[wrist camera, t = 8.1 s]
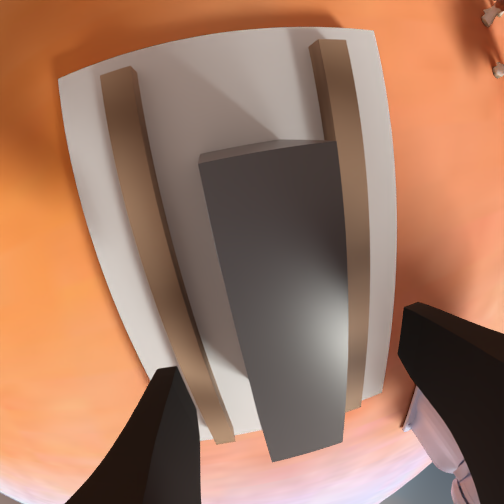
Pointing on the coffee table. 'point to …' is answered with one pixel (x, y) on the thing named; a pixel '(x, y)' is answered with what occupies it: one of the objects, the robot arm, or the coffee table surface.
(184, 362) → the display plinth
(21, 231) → the coffee table surface
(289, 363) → the grey rectangular block
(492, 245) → the coffee table surface
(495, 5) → the bull figurine
